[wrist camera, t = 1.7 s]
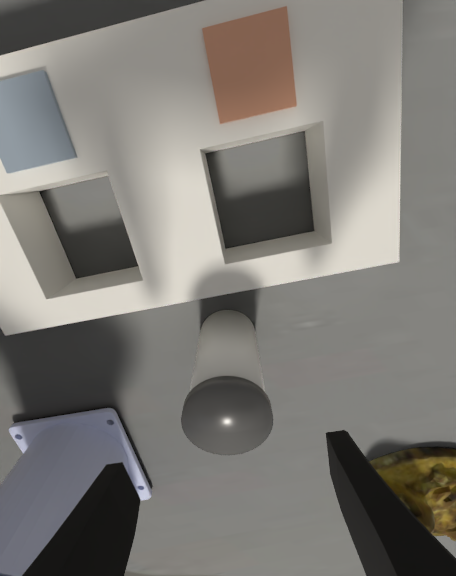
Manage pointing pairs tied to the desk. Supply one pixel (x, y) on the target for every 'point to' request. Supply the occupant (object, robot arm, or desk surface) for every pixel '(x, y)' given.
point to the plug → (227, 388)
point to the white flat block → (199, 148)
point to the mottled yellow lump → (424, 485)
